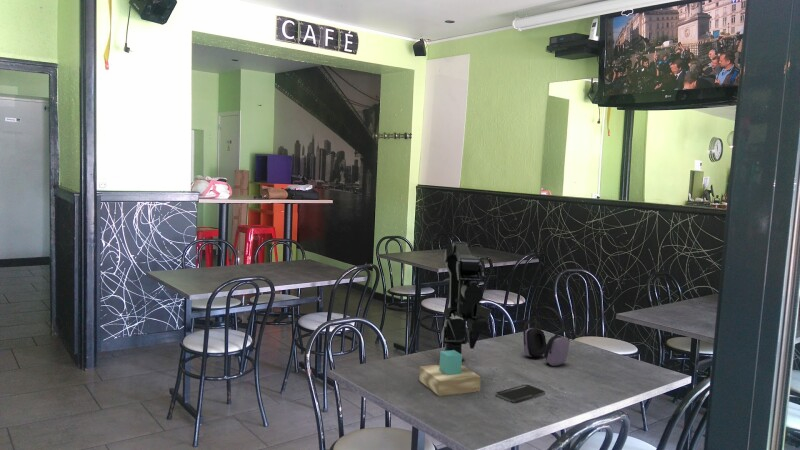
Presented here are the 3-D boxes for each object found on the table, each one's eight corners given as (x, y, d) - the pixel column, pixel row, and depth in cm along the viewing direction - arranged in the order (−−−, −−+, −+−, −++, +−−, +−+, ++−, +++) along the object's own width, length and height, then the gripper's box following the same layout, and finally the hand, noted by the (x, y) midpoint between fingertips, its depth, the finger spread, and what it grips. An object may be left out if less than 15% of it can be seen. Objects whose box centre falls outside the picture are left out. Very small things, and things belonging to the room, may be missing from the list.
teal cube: (439, 369, 182) (440, 351, 181) (453, 368, 184) (454, 350, 183) (446, 375, 177) (447, 356, 177) (460, 373, 179) (462, 354, 179)
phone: (494, 392, 175) (527, 383, 184) (494, 396, 175) (526, 387, 184) (514, 401, 168) (547, 391, 177) (513, 405, 168) (546, 395, 178)
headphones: (536, 352, 221) (539, 301, 220) (571, 365, 207) (575, 310, 206) (518, 356, 216) (522, 303, 214) (553, 369, 202) (557, 313, 200)
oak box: (419, 381, 185) (419, 366, 185) (457, 377, 190) (458, 362, 190) (439, 397, 172) (440, 381, 172) (479, 392, 178) (480, 376, 177)
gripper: (504, 301, 180) (501, 350, 181) (473, 289, 197) (470, 334, 198) (474, 303, 175) (471, 354, 177) (444, 291, 192) (442, 336, 194)
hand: (464, 344), depth 186 cm, fingers open, 9 cm apart
